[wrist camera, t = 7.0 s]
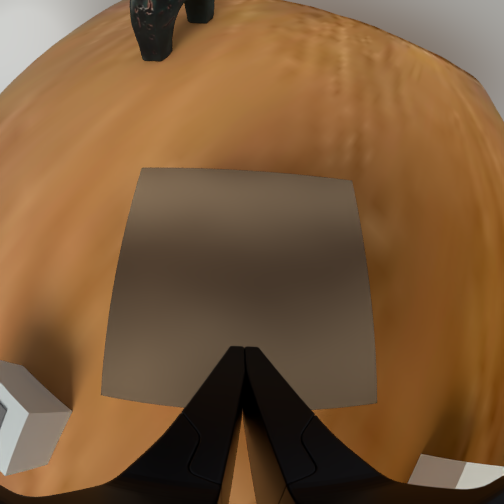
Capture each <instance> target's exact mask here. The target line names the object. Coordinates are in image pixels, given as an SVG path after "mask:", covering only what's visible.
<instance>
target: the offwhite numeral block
mask: <svg viewBox="0 0 504 504" xmlns="http://www.w3.org/2000/svg"><path fill="white" fill-rule="evenodd" d="M501 476H504V466H494V465H485V464H477V463H470V462H464V461H457V460H451V459H445V458H440V457H434V456H429V455H424V454H421V455H420V457H419V459H418V462H417V464H416V466H415V468H414V471H413V473H412V475H411V477H410V479H409V481H408V483H407V484H414V485H421V486H429V487H439V488H451V489H473V488H478V487H482V486H485V485H487V484H489V483H491V482H493V481H494V480H496V479H498V478H499V477H501Z"/></svg>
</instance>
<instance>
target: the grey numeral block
mask: <svg viewBox="0 0 504 504" xmlns="http://www.w3.org/2000/svg"><path fill="white" fill-rule="evenodd" d="M71 413H72V411H71V410H70V409H69V408H68V407H67V406H65V405H64V404H63V403H62V402H61V401H60V400H58V399H57V398H56V397H55V396H54V395H53V394H52V393H51V392H49V391H48V390H47V389H46V388H45V387H44V386H43V385H42V384H41V383H40V382H39V381H38V380H37V379H36V378H35V377H34V376H33V375H32V374H31V373H30V372H29V371H28V370H27V369H26V368H25V367H24V366H22V365H18V364H14V363H10V362H6V361H2V360H0V471H1V472H2V473H3V474H4V475H5V476H7V475H11V474H15V473H19V472H23V471H26V470H30V469H34V468H37V467H40V466H44V465H47V464H48V462H49V460H50V458H51V456H52V453H53V451H54V449H55V447H56V445H57V442H58V440H59V438H60V436H61V434H62V432H63V430H64V428H65V425H66V423H67V421H68V419H69V417H70V415H71Z"/></svg>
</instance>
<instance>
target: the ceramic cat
mask: <svg viewBox="0 0 504 504" xmlns="http://www.w3.org/2000/svg"><path fill="white" fill-rule="evenodd" d="M183 3H184V4H185V9H186V14H187V19H188V21H189V22H191V23H207V22H208V21H209V20H210V19H212V18H213V15H214V0H130V16H131V23H132V27H133V30H134V33H135V36H136V39H137V41H138V44H139V47H140V51H141V55H142V58H143V60H144V61H162V60H164V59H165V58H166V57H168V56H169V55H170V53H171V51H172V36H173V29H174V23H175V20H176V17H177V15H178V12H179V10H180V8H181V6H182V5H183Z"/></svg>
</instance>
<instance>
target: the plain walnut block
mask: <svg viewBox="0 0 504 504" xmlns="http://www.w3.org/2000/svg"><path fill="white" fill-rule="evenodd" d="M230 346H243V347H244V348H245V347H246V346H253V347H259V348H260V350H261V351H262V352H263V353H264V354H265V356H266V357H267V358H268V359H269V361H270V362H271V363H272V364H273V365H274V367H275V368H276V369H277V370H278V372H279V373H280V374H281V375H282V376H283V378H284V379H285V380H286V381H287V382H288V384H289V385H290V386H291V387H292V388H293V389H294V391H295V392H296V393H297V394H298V395H299V397H300V398H301V399H302V400H303V401H304V402H305V404H306V405H307V406H308V407H309V408H310V409H311V410H316V409H329V408H340V407H350V406H358V405H366V404H373V403H377V377H376V354H375V338H374V325H373V314H372V304H371V294H370V286H369V278H368V270H367V263H366V256H365V249H364V242H363V236H362V230H361V224H360V219H359V213H358V208H357V203H356V198H355V193H354V188H353V183H352V181H351V180H343V179H335V178H326V177H317V176H307V175H297V174H286V173H274V172H261V171H246V170H227V169H203V168H142V169H141V172H140V176H139V179H138V182H137V186H136V190H135V193H134V197H133V200H132V204H131V208H130V212H129V216H128V220H127V224H126V228H125V232H124V237H123V241H122V246H121V250H120V255H119V260H118V265H117V270H116V275H115V281H114V286H113V292H112V298H111V304H110V311H109V318H108V325H107V333H106V342H105V351H104V361H103V373H102V387H101V395H103V396H108V397H113V398H119V399H124V400H130V401H136V402H143V403H149V404H157V405H165V406H173V407H183V408H185V407H186V405H187V404H188V403H189V401H190V400H191V399H192V397H193V396H194V395H195V393H196V392H197V391H198V389H199V388H200V387H201V385H202V384H203V382H204V381H205V380H206V378H207V377H208V376H209V374H210V373H211V372H212V370H213V369H214V367H215V366H216V365H217V363H218V362H219V361H220V359H221V358H222V356H223V355H224V354H225V352H226V351H227V349H228V348H229V347H230ZM242 411H243V410H242Z"/></svg>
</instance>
